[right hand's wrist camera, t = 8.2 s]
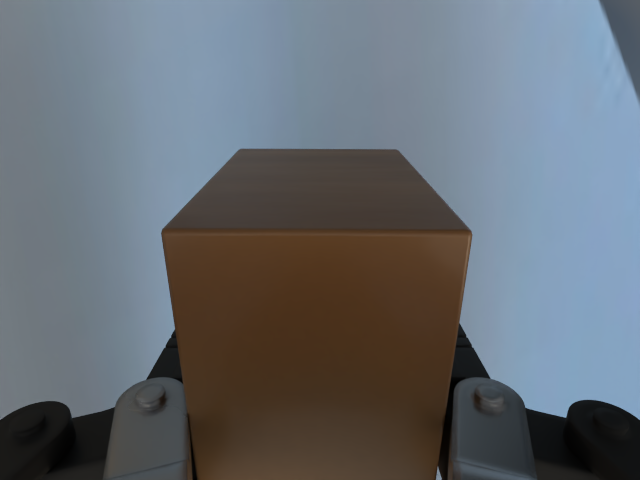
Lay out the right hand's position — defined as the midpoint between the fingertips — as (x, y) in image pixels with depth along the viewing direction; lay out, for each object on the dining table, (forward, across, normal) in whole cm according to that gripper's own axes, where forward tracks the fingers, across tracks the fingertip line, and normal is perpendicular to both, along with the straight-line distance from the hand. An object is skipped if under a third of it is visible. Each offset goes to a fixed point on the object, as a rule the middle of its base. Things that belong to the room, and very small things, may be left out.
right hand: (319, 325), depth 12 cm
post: (+3, 0, -34) cm, 34 cm away
